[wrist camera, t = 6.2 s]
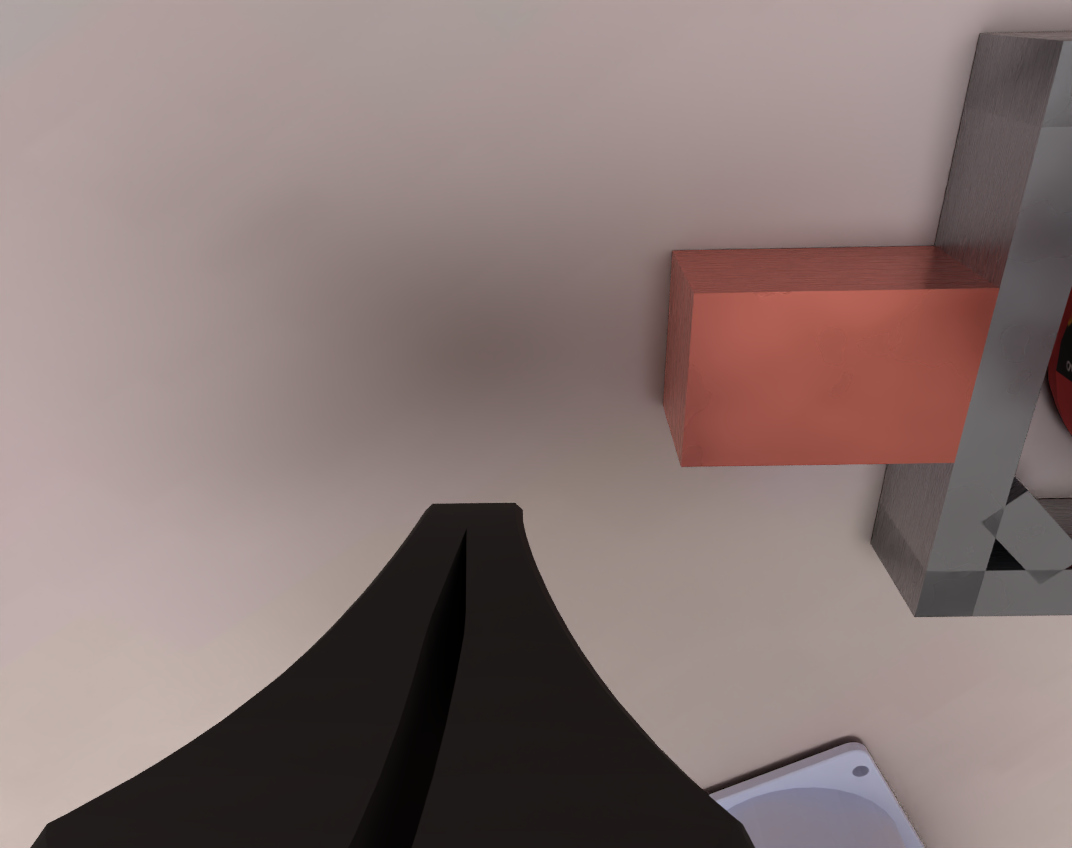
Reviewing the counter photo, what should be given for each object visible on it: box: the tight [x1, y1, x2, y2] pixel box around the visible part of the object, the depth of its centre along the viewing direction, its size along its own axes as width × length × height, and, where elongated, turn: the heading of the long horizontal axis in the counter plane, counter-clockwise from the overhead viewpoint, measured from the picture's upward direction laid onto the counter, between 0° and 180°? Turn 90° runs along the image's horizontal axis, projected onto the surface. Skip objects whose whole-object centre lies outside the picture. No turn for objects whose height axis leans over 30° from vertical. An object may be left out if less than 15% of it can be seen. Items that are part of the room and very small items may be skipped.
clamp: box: [663, 31, 1072, 617], centre depth 18 cm, size 15×13×3 cm
